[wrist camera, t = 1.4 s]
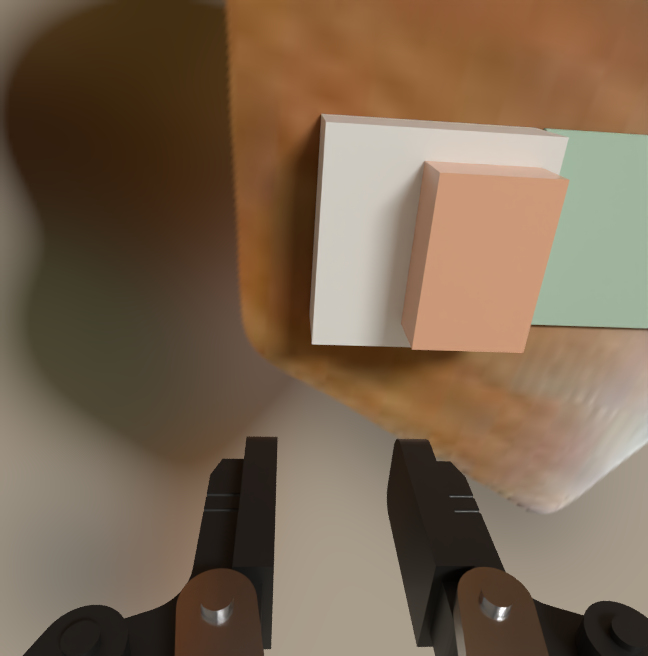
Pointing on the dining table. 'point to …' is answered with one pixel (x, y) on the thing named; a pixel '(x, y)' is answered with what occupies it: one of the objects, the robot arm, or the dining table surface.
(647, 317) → the green mat
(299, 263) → the dining table surface
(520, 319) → the terracotta tile
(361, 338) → the block
